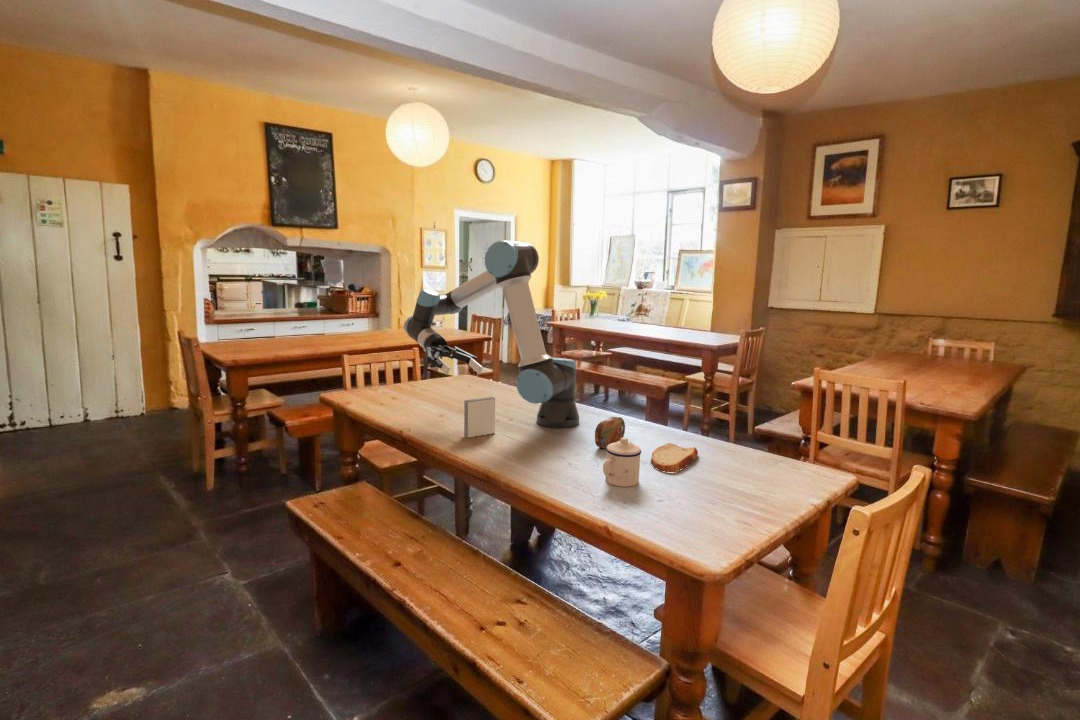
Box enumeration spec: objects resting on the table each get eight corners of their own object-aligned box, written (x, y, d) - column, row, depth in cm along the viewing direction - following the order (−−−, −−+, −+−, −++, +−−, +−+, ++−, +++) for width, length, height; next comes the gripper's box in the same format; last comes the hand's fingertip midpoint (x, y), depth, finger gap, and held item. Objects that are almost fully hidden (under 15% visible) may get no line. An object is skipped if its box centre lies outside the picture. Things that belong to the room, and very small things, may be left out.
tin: (601, 452, 169) (602, 425, 168) (592, 449, 171) (593, 423, 170) (625, 440, 181) (626, 415, 180) (616, 438, 183) (618, 413, 181)
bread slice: (662, 475, 153) (663, 462, 152) (634, 453, 170) (635, 441, 169) (720, 471, 157) (721, 458, 157) (687, 449, 174) (688, 438, 174)
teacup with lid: (619, 471, 153) (622, 431, 151) (646, 482, 147) (649, 439, 145) (589, 482, 146) (591, 439, 143) (616, 493, 139) (619, 448, 137)
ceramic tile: (464, 436, 181) (464, 400, 179) (491, 431, 186) (492, 396, 184) (467, 438, 179) (467, 401, 177) (494, 433, 184) (495, 398, 182)
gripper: (457, 352, 211) (490, 379, 198) (399, 351, 193) (430, 381, 180) (463, 334, 208) (496, 360, 195) (404, 331, 191) (436, 360, 177)
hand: (465, 370), depth 187 cm, fingers open, 13 cm apart
